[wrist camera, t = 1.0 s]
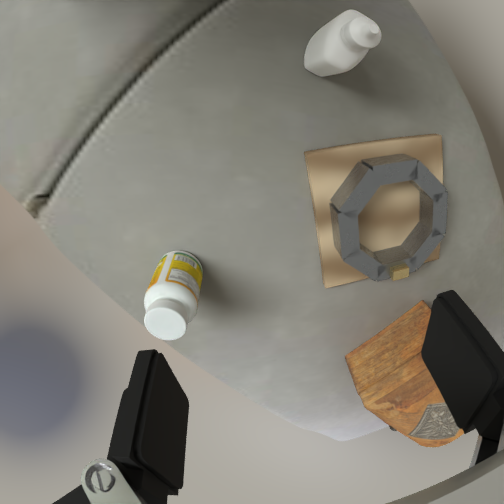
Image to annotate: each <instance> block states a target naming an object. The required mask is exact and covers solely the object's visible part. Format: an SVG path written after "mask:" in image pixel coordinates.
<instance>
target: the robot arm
mask: <svg viewBox="0 0 504 504" xmlns="http://www.w3.org/2000/svg"><path fill="white" fill-rule="evenodd" d="M421 356H422V359H423V361H424V363H425V365H426V367H427V368H428V370H429V372H430V374H431V376H432V378H433V379H434V381H435V383H436V385H437V387H438V389H439V391H440V393H441V395H442V397H443V398H444V400H445V402H446V404H447V406H448V408H449V410H450V412H451V414H452V416H453V418H454V421H455V423H456V425H457V426H458V428H460V429H463V431H464V434H466V433H468V432H470V431H472V430H474V429H475V428H476V429H477V431H478V433H479V436H478V440H477V444H476V448H475V451H474V454H473V458H472V461H471V464H470V467H469V469H467V470H465V471H463V472H461V473H459V474H457V475H455V476H453V477H451V478H449V479H447V480H445V481H443V482H440V483H438V484H436V485H434V486H431V487H429V488H427V489H424V490H422V491H419V492H417V493H414V494H412V495H409V496H407V497H404V498H401V499H398V500H395V501H393V502H390V503H387V504H504V352H503V351H502V349H501V348H500V347H499V345H498V344H497V343H496V341H495V340H494V339H493V337H492V336H491V335H490V333H489V332H488V331H487V330H486V328H485V327H484V326H483V324H482V323H481V322H480V321H479V319H478V318H477V317H476V316H475V315H474V313H473V312H472V311H471V310H470V308H469V307H468V306H467V305H466V304H465V302H464V301H463V300H462V299H461V298H460V297H459V295H458V294H457V293H456V292H455V291H454V290H450V291H446V292H443V293H440V294H438V295H437V297H436V299H435V300H434V301H433V305H432V310H431V314H430V319H429V323H428V327H427V331H426V335H425V339H424V342H423V346H422V350H421ZM188 412H189V402H188V398H187V396H186V394H185V393H184V391H183V390H182V388H181V386H180V384H179V382H178V381H177V379H176V377H175V376H174V374H173V372H172V370H171V368H170V367H169V365H168V363H167V361H166V359H165V357H164V355H163V354H162V353H158V352H157V350H155V349H153V350H144V351H139V352H138V354H137V357H136V360H135V364H134V367H133V371H132V375H131V378H130V382H129V386H128V388H127V389H126V390H124V392H123V395H122V398H121V402H120V406H119V410H118V414H117V418H116V422H115V426H114V430H113V434H112V438H111V443H110V447H109V452H108V457H107V460H106V459H96V460H94V461H91V462H90V463H89V464H88V465H86V467H85V468H84V470H83V472H82V475H81V483H82V484H81V485H80V486H78V487H77V488H76V489H74V490H73V491H71V492H69V493H68V494H66V495H65V496H64V497H62V498H61V499H59V500H57V501H56V502H54V503H53V504H167V496H168V495H178V489H181V488H182V487H183V476H184V461H185V448H186V436H187V423H188Z"/></svg>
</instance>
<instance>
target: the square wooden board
mask: <svg viewBox="0 0 504 504" xmlns="http://www.w3.org/2000/svg"><path fill="white" fill-rule="evenodd" d="M401 153H403V154H406V155H408V156H411V157H413V158H415V159H417V160H420V161H421V162H422V163H423V164H424V165H425V166H426V167H427V168H428V169H429V171H430V172H431V173H432V174H433V175H434V176H435V177H436V178H437V179H438V180H439V181H440V182H441V183H442V184H443V157H442V136H441V135H438V134H428V135H417V136H408V137H399V138H390V139H382V140H375V141H367V142H360V143H354V144H347V145H341V146H335V147H329V148H323V149H317V150H312V151H306V152H304V154H305V160H306V166H307V172H308V177H309V183H310V190H311V196H312V202H313V209H314V216H315V222H316V230H317V237H318V244H319V252H320V260H321V268H322V277H323V284H324V286H325V288H330V287H334V286H338V285H342V284H346V283H350V282H354V281H358V280H362V279H366V278H369V277H368V276H366V275H364V274H363V273H361V272H360V271H358V270H356V269H355V268H353V267H352V266H350V265H349V264H347V263H345V262H344V261H343V260H342V258H341V256H340V255H339V253H338V251H337V250H336V248H335V246H334V241H333V232H332V223H331V215H330V207H329V203H332V202H331V201H330V199H331V198H332V196H333V195H334V194H335V192H336V191H337V190H338V188H339V187H340V186H341V184H342V183H343V181H344V180H345V179H346V177H347V176H348V175H349V173H350V172H351V170H352V169H353V168H354V166H355V165H356V164H357V162H358V161H359V162H360V163H361V159H367V158H374V157H380V156H387V155H394V154H401ZM419 213H420V193H419V190H418V189H417V188H416V187H415V186H414V185H413V184H411V183H410V182H409V181H403V182H397V183H392V184H386V185H380V187H379V188H378V189H377V191H376V192H375V194H374V195H373V196H372V198H371V199H370V200H369V202H368V203H367V204H366V206H365V207H364V208H363V210H362V211H361V212H360V213H359V215H358V227H359V243H361V244H362V245H364V246H365V247H366V248H368V249H369V250H371V251H372V252H375V251H379V250H383V249H387V248H391V247H395V246H399V245H401V244H402V243H403V242H404V240H405V239H406V238H407V236H408V235H409V234H410V233H411V231H412V230H413V229H414V227H415V226H416V225H417V223H418V222H419ZM439 251H440V243H439V244H438V245H437V247H436V248H435V249H434V250H433V252H432V253H431V254H430V255H429V257H428V258H427V259H426V260H425V262H424V263H426V262H429V261H433V260H436V259H439Z"/></svg>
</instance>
